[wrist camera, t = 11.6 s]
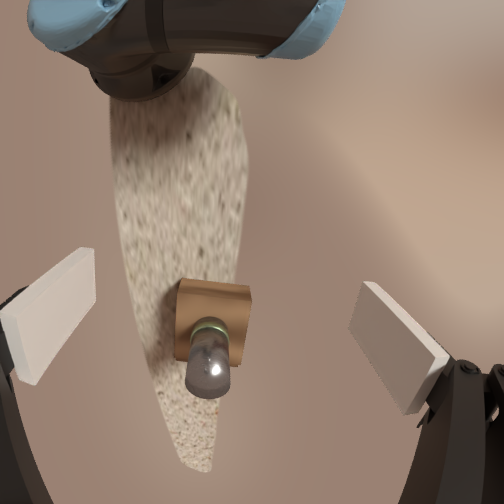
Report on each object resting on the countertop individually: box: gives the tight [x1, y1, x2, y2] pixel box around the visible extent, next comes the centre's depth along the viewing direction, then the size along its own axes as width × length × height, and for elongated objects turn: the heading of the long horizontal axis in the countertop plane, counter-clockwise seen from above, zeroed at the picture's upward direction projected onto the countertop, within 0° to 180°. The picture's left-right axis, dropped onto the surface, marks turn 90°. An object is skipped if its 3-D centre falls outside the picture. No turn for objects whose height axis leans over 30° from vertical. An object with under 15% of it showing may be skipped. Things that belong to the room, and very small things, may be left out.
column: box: [185, 316, 230, 399], centre depth 36 cm, size 5×5×11 cm
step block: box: [174, 278, 252, 367], centre depth 44 cm, size 14×10×5 cm
